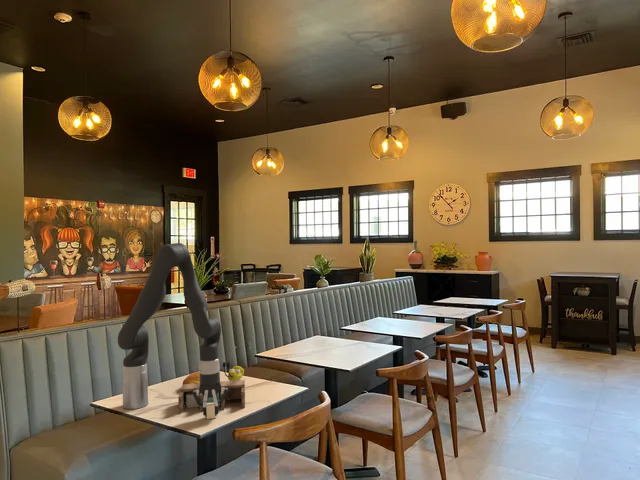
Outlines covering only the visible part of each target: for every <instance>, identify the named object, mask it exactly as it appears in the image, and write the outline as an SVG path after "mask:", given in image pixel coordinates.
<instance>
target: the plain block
mask: <svg viewBox="0 0 640 480" xmlns="http://www.w3.org/2000/svg"><path fill="white" fill-rule="evenodd" d="M192 393H193V391H189V392H187V395H186V402H187V403H186V408H195V407H199V406H198V404H197V402H196V400H195V398H194V396H193V394H192ZM198 396H199V398H200V392H199V395H198Z"/></svg>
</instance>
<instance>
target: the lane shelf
mask: <svg viewBox="0 0 640 480" xmlns="http://www.w3.org/2000/svg"><path fill="white" fill-rule="evenodd" d="M245 382H246V381H245V379H240V380H236V381H229V380H226V381H225V380H223V381H220V384H221V386H222V387H224V388H228V392H227V394H226V397H225V399H224V401H223V404H220V409H221V411H224V410H225V408H226V407H225V406H226V401H227V400H228V401H229V400H238V399H241V409H245V408H246V383H245ZM199 387H200V383H196V384H183V383H182V386H181V387H180V392H179V394H178V396H177V398H178V402H177V403H178V414H183V411H184V409H185V407H186V405H187V402H186V395H187V392H189V391H194V390H197V389H199ZM221 397H222V390H220V399H221ZM200 399H201V401H202V402H203V401H204V396H203V395H202V394H201V392H200ZM199 412H200V413H201V412H202V413H203V407H202V406H199Z"/></svg>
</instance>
